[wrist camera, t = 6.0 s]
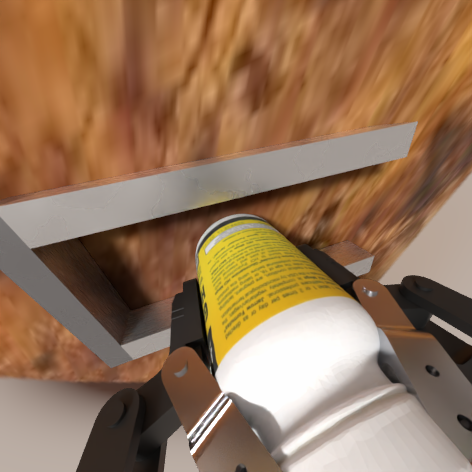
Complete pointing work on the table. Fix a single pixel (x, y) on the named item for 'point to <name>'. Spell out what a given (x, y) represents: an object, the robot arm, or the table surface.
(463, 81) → the table surface
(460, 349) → the robot arm
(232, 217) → the pill bottle
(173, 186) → the rail
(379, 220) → the table surface
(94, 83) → the table surface
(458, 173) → the table surface
